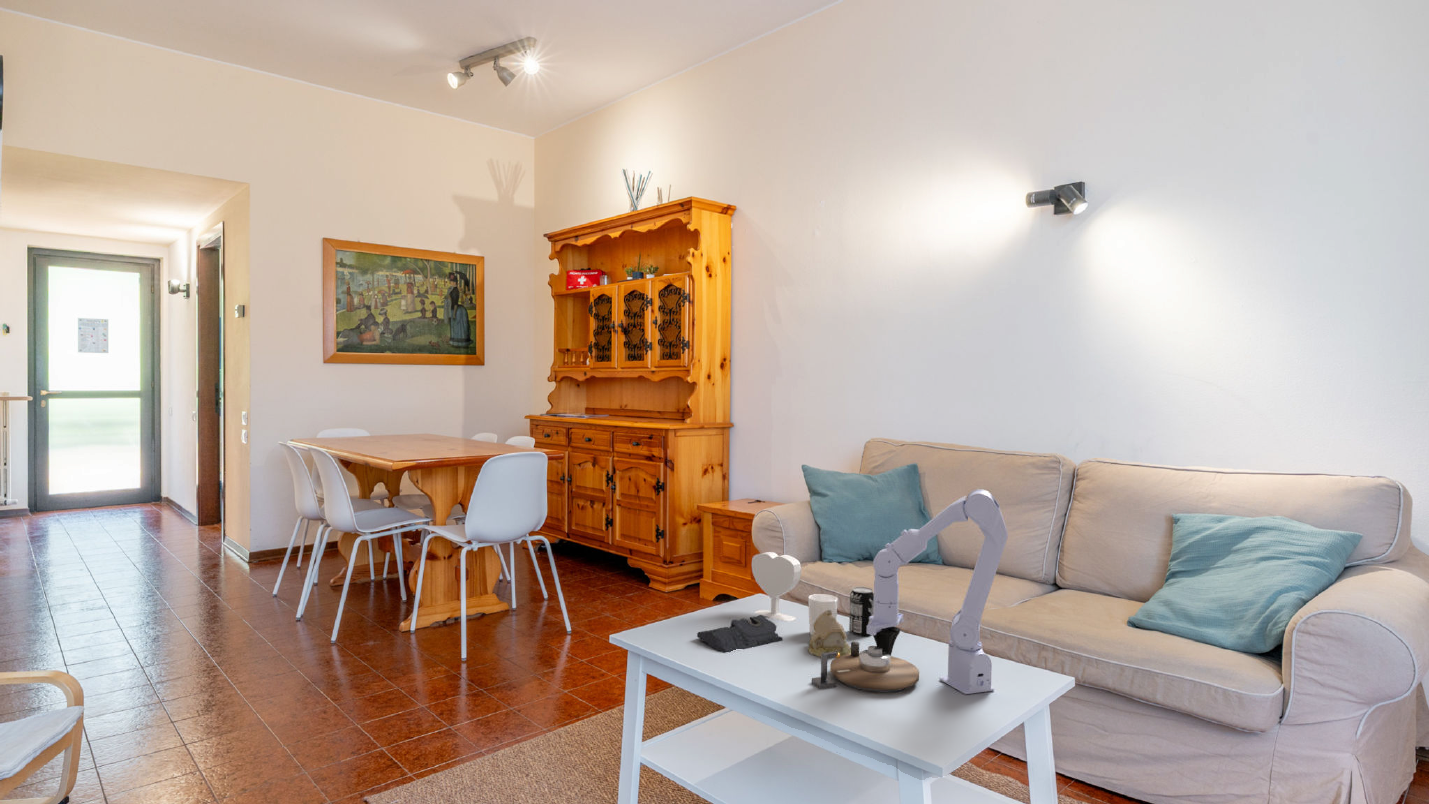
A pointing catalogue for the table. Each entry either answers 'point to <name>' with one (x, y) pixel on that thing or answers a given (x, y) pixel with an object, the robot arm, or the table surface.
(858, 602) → the beverage can
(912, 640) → the table surface
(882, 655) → the cover
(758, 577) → the heart sculpture
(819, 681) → the grey bent lever
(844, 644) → the ceramic model
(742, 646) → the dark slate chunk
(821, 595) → the white cup
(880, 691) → the turntable base
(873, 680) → the turntable
